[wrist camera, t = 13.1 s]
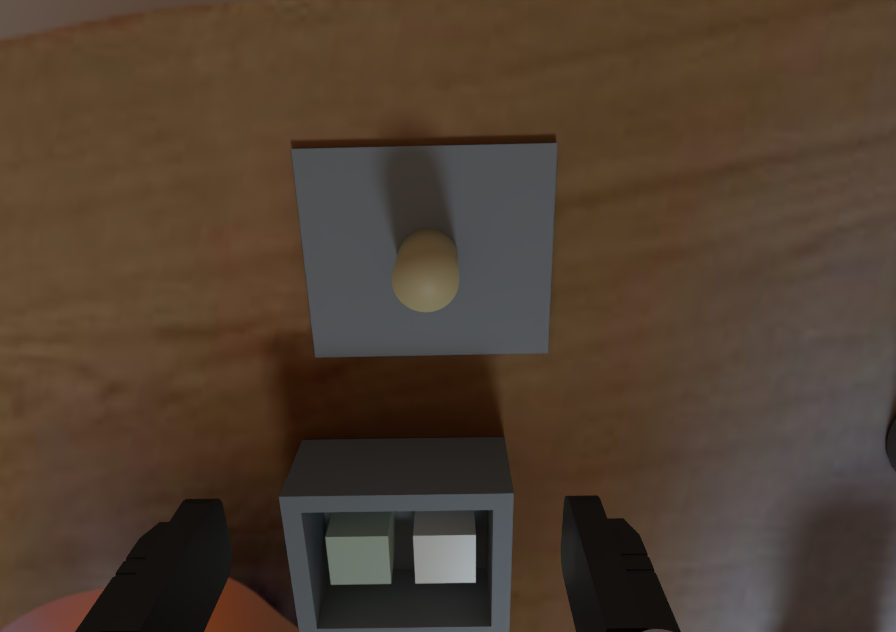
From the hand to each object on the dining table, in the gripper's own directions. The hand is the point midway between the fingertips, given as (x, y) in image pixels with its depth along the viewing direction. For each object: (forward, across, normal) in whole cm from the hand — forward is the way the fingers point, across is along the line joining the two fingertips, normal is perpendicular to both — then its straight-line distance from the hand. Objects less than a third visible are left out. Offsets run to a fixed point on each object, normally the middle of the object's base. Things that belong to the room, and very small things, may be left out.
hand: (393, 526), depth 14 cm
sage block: (+22, +5, +19) cm, 30 cm away
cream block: (+22, -1, +19) cm, 29 cm away
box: (+23, +2, +19) cm, 30 cm away
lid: (+24, 0, 0) cm, 24 cm away
